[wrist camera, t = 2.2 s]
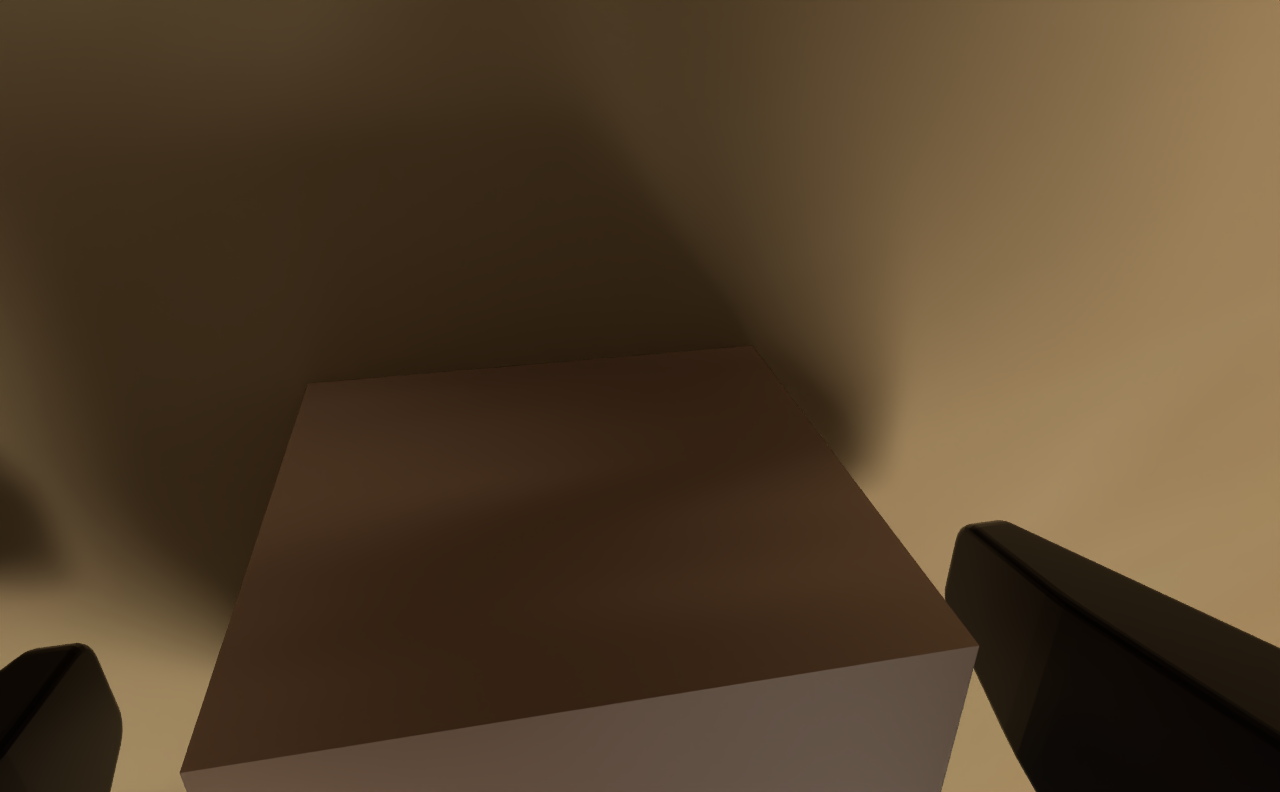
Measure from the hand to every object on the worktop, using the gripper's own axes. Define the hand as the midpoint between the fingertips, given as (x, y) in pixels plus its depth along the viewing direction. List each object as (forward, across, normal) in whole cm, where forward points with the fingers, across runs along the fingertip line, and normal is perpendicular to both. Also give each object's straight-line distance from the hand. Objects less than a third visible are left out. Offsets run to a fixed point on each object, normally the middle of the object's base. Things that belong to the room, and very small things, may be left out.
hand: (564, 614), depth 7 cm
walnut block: (+1, 0, 0) cm, 1 cm away
